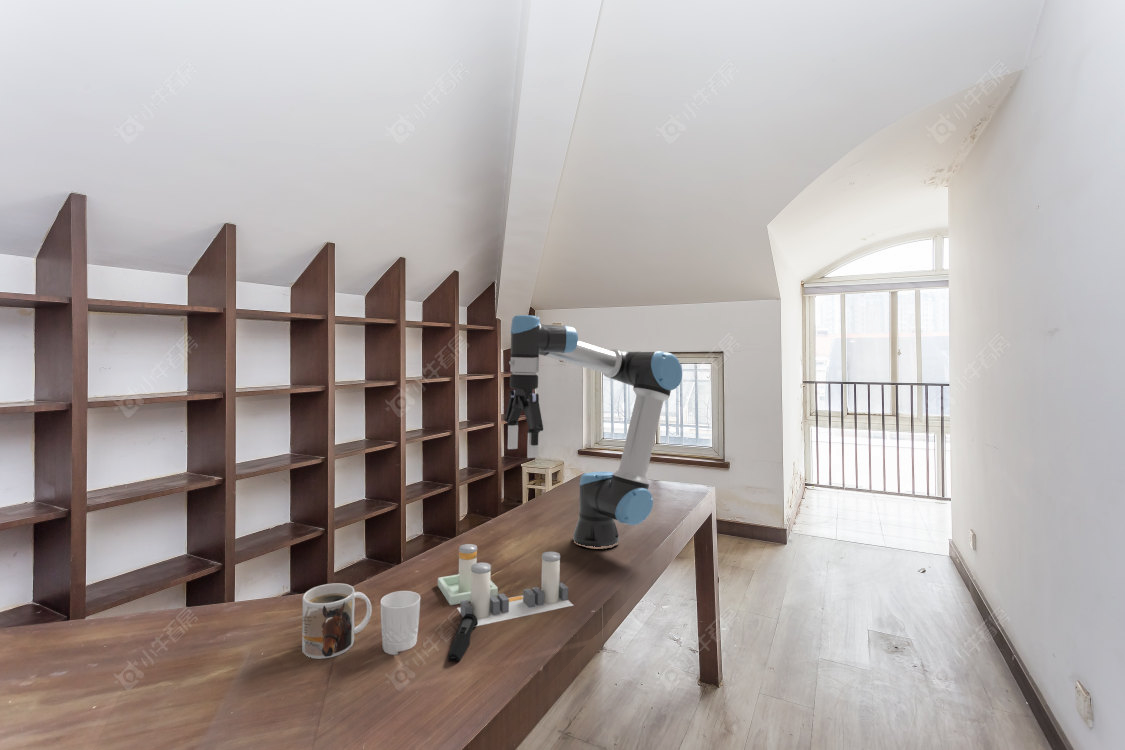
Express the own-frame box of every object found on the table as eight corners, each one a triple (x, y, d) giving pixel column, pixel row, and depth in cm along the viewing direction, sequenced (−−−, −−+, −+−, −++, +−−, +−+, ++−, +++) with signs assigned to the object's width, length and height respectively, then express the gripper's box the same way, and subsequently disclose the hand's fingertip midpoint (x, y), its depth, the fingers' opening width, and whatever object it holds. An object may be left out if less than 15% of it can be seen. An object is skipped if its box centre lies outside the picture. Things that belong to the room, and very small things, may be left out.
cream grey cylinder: (553, 594, 136) (555, 550, 135) (562, 601, 132) (563, 556, 131) (537, 597, 134) (538, 553, 133) (545, 605, 130) (546, 559, 129)
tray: (482, 580, 144) (482, 570, 144) (497, 599, 134) (498, 588, 134) (437, 588, 139) (437, 577, 139) (450, 608, 128) (450, 596, 128)
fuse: (486, 607, 127) (487, 561, 127) (492, 616, 123) (493, 568, 123) (467, 611, 125) (468, 564, 125) (473, 620, 121) (474, 571, 121)
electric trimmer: (442, 668, 104) (442, 652, 104) (462, 622, 120) (462, 609, 119) (461, 669, 104) (462, 654, 104) (479, 623, 119) (479, 610, 119)
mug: (318, 630, 116) (318, 580, 116) (373, 633, 116) (373, 582, 116) (292, 658, 106) (293, 602, 105) (352, 660, 105) (353, 605, 105)
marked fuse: (472, 585, 139) (473, 543, 139) (478, 592, 135) (479, 548, 135) (455, 588, 137) (456, 545, 137) (460, 595, 133) (462, 551, 133)
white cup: (389, 661, 106) (390, 611, 105) (373, 644, 111) (374, 597, 111) (426, 648, 111) (427, 600, 110) (409, 632, 117) (410, 587, 116)
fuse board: (555, 591, 139) (555, 577, 139) (574, 608, 130) (574, 593, 130) (456, 611, 127) (456, 595, 127) (469, 631, 118) (469, 614, 118)
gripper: (494, 371, 152) (492, 446, 153) (530, 375, 130) (528, 462, 131) (519, 372, 156) (517, 444, 157) (557, 376, 134) (555, 460, 134)
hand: (522, 453), depth 144 cm, fingers open, 13 cm apart
